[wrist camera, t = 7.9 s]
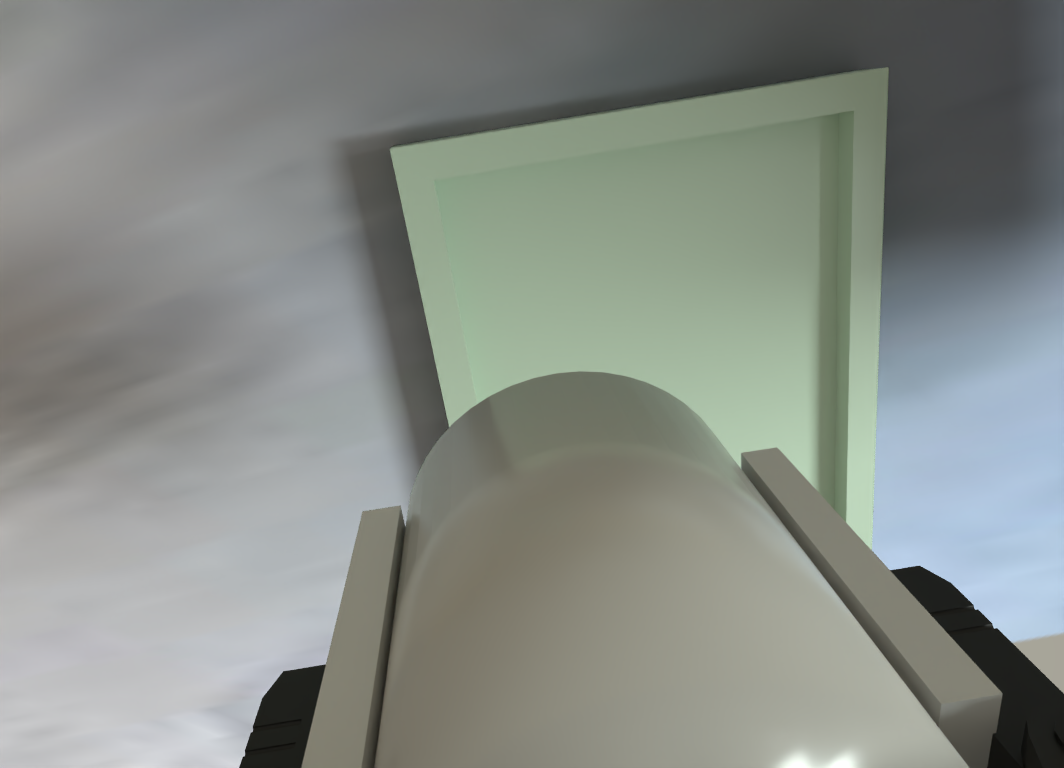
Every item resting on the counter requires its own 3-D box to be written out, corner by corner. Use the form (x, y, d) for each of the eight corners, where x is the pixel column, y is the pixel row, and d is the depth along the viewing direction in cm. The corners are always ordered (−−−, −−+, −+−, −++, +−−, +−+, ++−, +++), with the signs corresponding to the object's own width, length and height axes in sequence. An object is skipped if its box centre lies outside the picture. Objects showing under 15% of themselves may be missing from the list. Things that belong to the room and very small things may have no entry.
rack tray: (393, 145, 25) (389, 148, 23) (857, 70, 26) (888, 67, 24) (490, 602, 33) (493, 632, 31) (847, 531, 33) (871, 556, 32)
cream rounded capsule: (375, 400, 14) (275, 751, 6) (733, 347, 14) (1042, 624, 7) (437, 679, 16) (418, 1161, 9) (737, 630, 17) (962, 1058, 9)
